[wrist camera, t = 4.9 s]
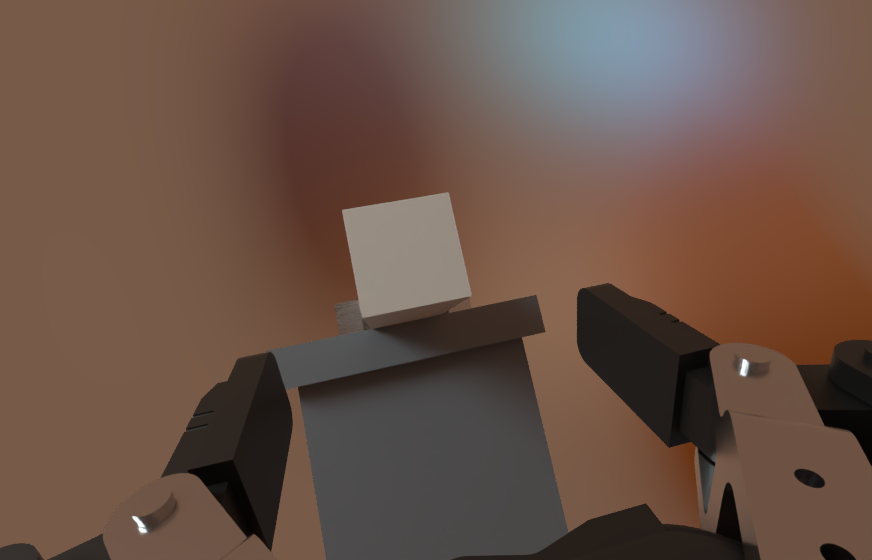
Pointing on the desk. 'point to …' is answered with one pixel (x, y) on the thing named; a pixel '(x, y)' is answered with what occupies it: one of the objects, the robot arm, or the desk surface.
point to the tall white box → (406, 259)
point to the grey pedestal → (427, 435)
